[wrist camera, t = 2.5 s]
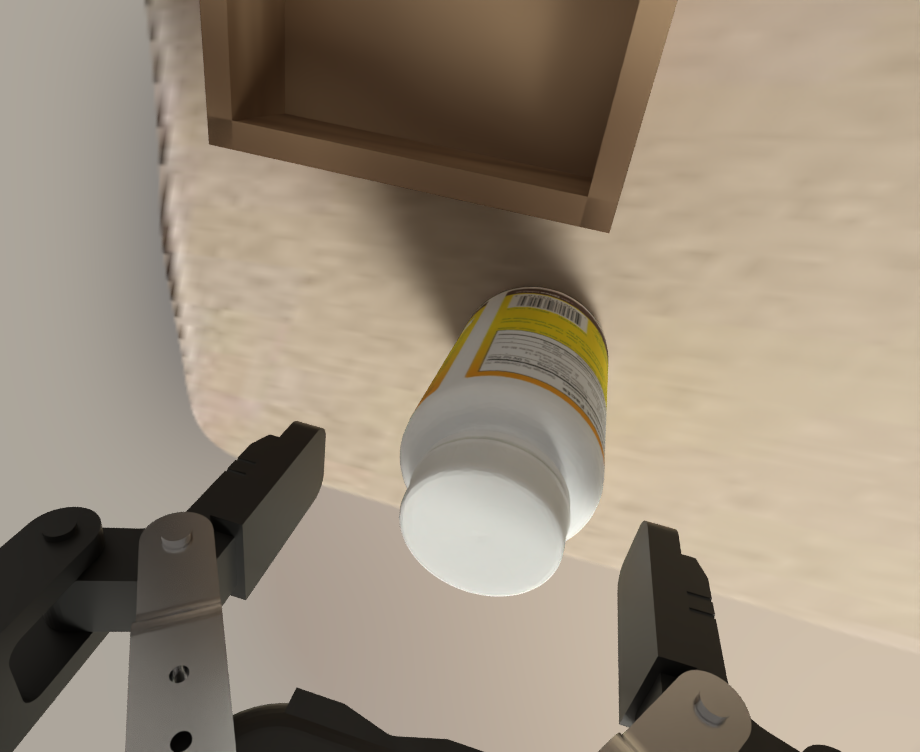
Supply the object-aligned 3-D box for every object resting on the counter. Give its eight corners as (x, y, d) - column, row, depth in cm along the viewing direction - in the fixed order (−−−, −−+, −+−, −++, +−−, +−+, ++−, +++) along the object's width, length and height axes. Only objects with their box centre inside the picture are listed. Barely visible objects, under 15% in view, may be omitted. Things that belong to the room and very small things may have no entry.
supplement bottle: (496, 425, 24) (423, 629, 15) (443, 307, 22) (323, 465, 13) (629, 393, 22) (632, 612, 13) (582, 259, 20) (550, 410, 11)
